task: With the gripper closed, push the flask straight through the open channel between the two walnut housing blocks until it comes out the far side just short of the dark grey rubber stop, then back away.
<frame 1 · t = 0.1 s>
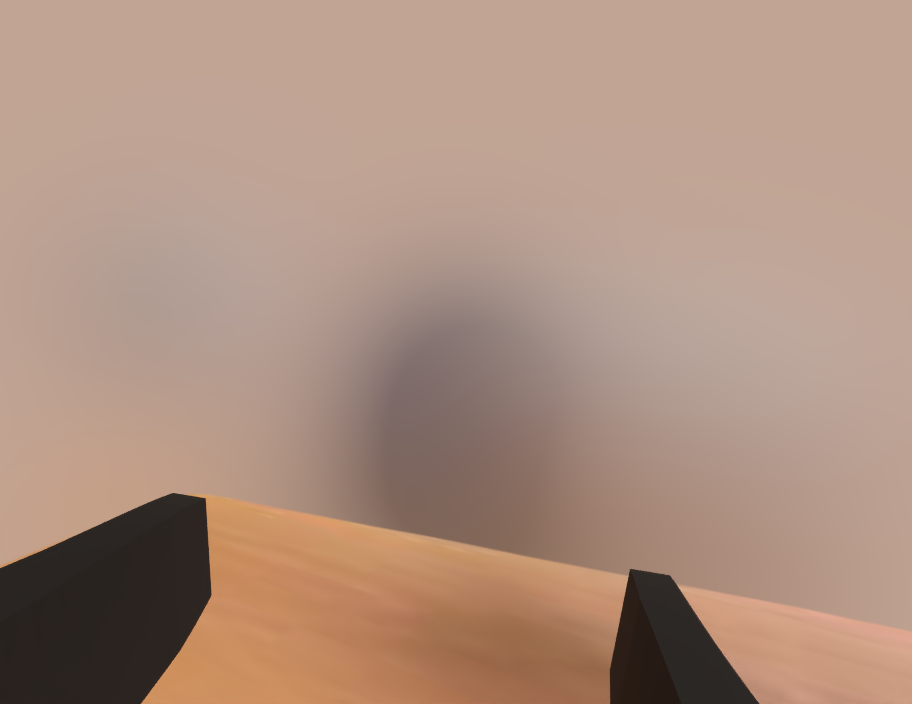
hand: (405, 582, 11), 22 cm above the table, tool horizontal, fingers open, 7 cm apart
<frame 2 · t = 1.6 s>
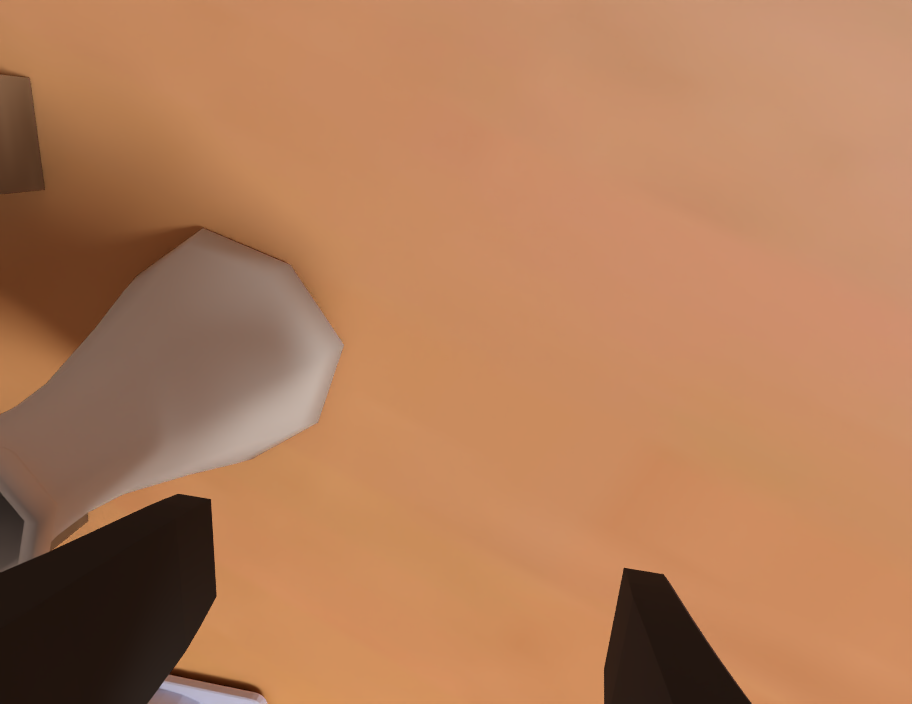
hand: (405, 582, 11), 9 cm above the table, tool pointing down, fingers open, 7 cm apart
flask: (236, 345, 21), on the table
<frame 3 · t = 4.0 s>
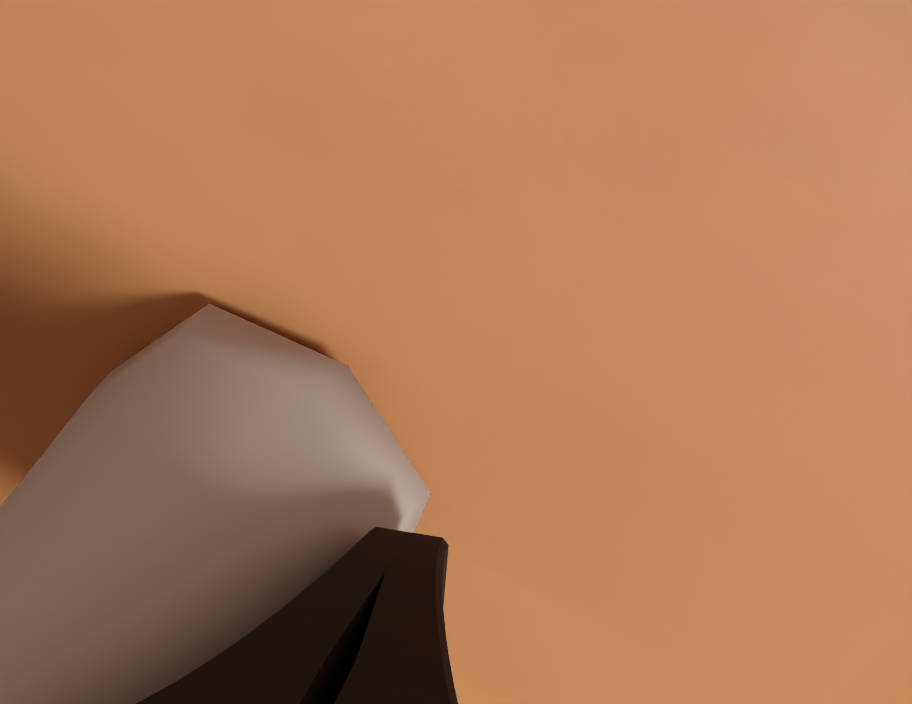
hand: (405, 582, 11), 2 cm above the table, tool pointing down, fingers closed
flask: (260, 477, 13), on the table, touching gripper
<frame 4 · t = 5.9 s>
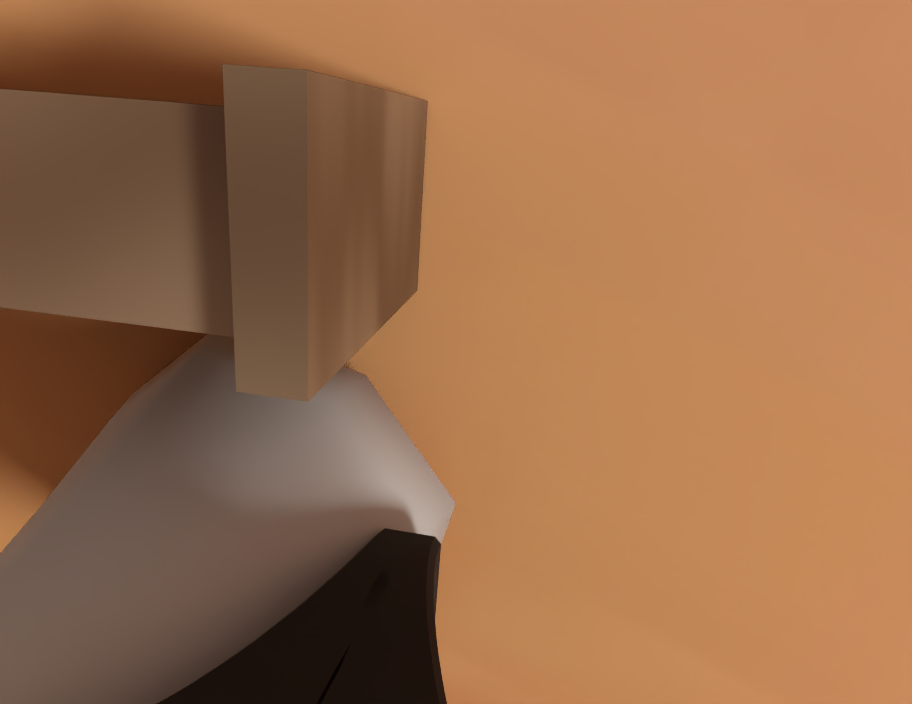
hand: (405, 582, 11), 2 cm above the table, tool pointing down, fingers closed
housing: (177, 465, 14), on the table
flask: (284, 493, 13), on the table, touching gripper
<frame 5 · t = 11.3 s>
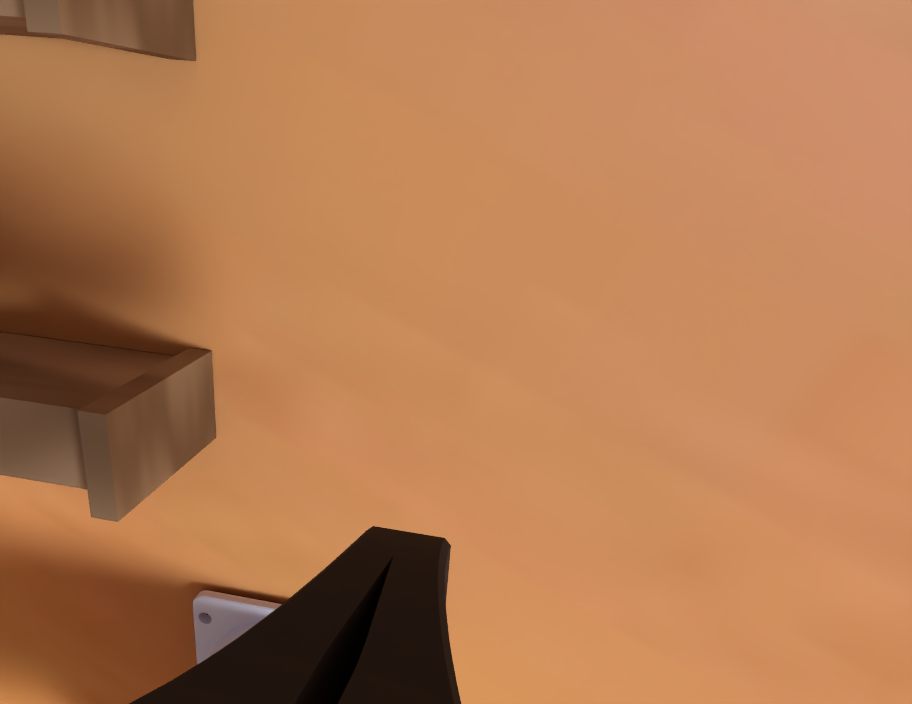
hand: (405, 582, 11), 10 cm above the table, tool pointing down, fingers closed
housing: (57, 201, 20), on the table
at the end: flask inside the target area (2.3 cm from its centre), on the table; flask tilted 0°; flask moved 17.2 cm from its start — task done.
